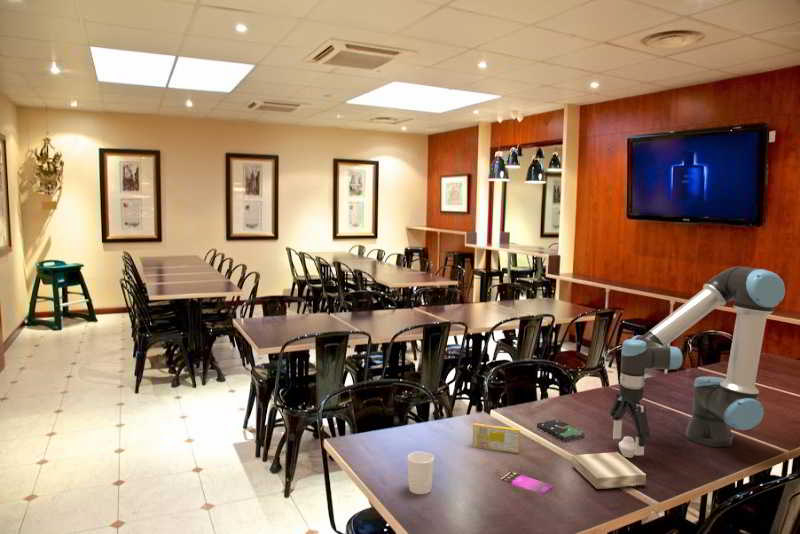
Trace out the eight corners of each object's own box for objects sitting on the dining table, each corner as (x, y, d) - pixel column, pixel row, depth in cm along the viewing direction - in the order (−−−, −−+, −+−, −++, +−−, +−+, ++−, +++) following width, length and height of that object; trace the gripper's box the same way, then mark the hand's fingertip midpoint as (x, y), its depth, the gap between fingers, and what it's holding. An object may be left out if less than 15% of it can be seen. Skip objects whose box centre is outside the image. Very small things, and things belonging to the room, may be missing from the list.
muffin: (640, 455, 196) (641, 436, 196) (633, 461, 192) (634, 441, 191) (622, 450, 200) (623, 431, 200) (615, 456, 196) (616, 436, 195)
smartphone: (510, 473, 184) (510, 470, 184) (554, 487, 174) (554, 484, 174) (498, 481, 178) (498, 478, 178) (543, 496, 169) (543, 493, 169)
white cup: (405, 483, 175) (406, 451, 174) (431, 482, 176) (431, 451, 175) (408, 496, 167) (408, 463, 166) (435, 495, 168) (435, 462, 167)
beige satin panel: (616, 463, 190) (617, 452, 190) (645, 487, 174) (645, 474, 174) (571, 466, 187) (572, 455, 187) (596, 490, 172) (597, 478, 171)
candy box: (519, 451, 199) (520, 428, 198) (518, 454, 197) (519, 430, 196) (473, 444, 204) (473, 422, 203) (472, 447, 202) (472, 424, 201)
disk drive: (536, 430, 219) (564, 444, 206) (536, 423, 219) (564, 436, 206) (556, 425, 224) (585, 438, 211) (556, 418, 224) (585, 431, 211)
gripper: (602, 375, 205) (598, 432, 207) (643, 398, 181) (638, 463, 183) (621, 374, 206) (617, 431, 209) (664, 397, 182) (660, 461, 184)
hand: (627, 446), depth 196 cm, fingers open, 13 cm apart
